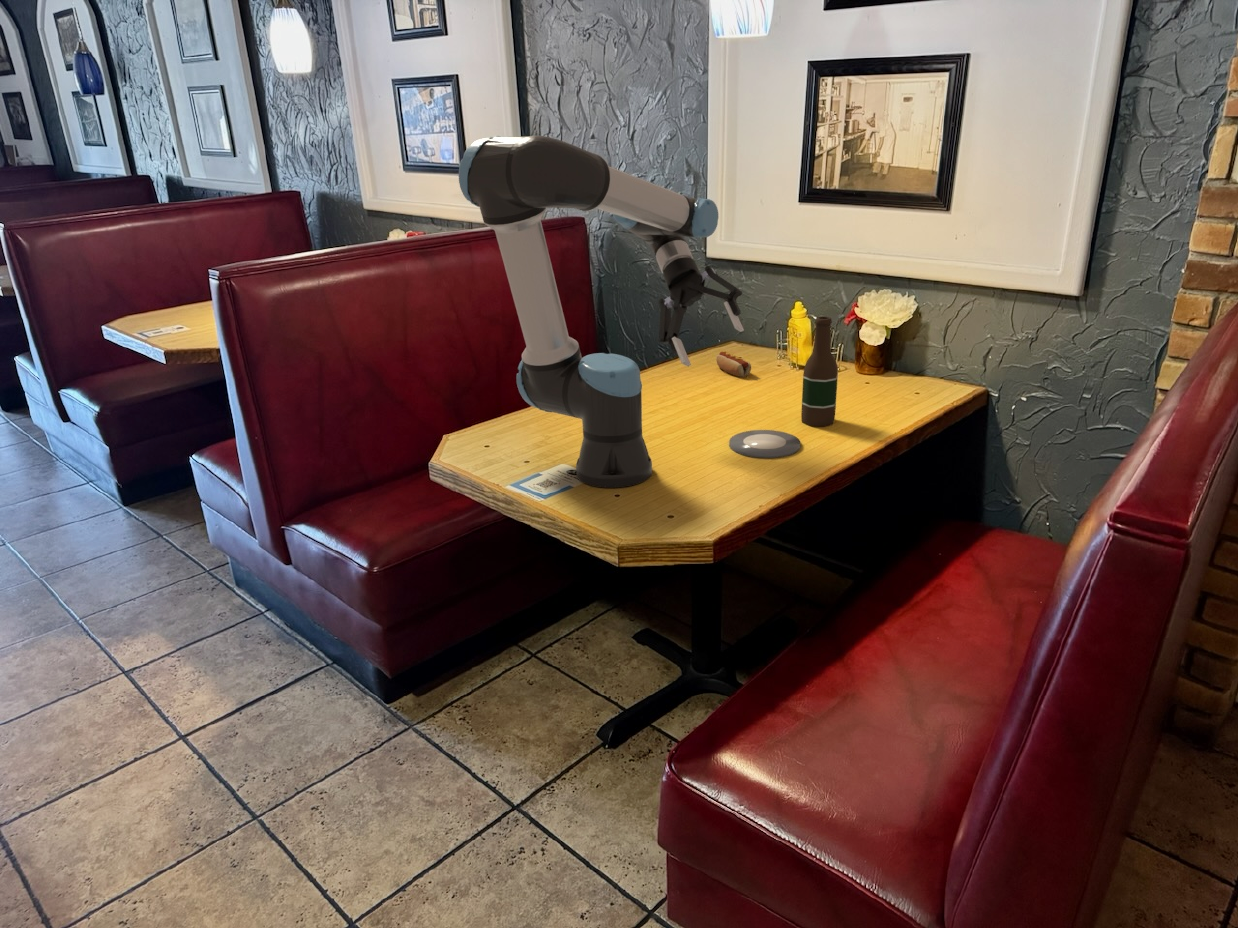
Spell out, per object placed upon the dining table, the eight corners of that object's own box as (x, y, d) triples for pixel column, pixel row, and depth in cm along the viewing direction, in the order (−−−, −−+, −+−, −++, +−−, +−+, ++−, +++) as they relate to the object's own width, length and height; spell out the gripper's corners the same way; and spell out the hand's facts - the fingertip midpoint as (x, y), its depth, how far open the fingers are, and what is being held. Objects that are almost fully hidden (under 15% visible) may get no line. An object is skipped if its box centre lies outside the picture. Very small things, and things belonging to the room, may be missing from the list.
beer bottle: (841, 420, 193) (848, 316, 184) (824, 429, 188) (830, 323, 179) (811, 414, 198) (817, 312, 189) (793, 422, 193) (798, 318, 184)
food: (712, 368, 238) (712, 351, 237) (729, 365, 240) (729, 348, 238) (737, 380, 226) (737, 362, 225) (754, 377, 228) (755, 359, 227)
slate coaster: (772, 463, 170) (772, 459, 170) (714, 446, 181) (714, 442, 180) (814, 443, 180) (814, 439, 180) (757, 428, 190) (758, 424, 190)
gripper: (733, 239, 180) (770, 319, 172) (643, 304, 192) (674, 382, 184) (716, 226, 174) (754, 308, 166) (624, 293, 186) (655, 373, 178)
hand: (712, 347), depth 175 cm, fingers open, 13 cm apart
